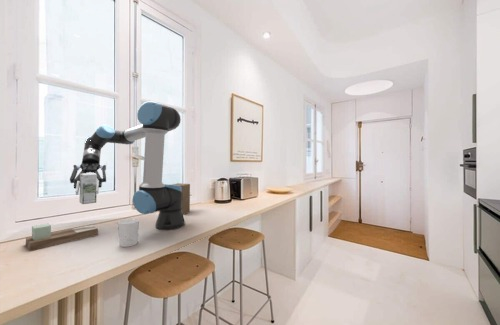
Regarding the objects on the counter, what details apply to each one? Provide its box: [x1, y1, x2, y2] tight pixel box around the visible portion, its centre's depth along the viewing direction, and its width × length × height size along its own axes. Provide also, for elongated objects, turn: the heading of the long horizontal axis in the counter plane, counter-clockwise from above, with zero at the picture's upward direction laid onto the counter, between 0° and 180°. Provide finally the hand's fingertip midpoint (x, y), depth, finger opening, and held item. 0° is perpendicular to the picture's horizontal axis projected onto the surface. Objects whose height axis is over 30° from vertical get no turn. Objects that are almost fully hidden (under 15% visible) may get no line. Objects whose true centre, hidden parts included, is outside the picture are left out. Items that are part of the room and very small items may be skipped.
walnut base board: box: [25, 224, 99, 252], centre depth 95 cm, size 10×23×3 cm, turn 143°
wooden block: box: [171, 183, 191, 216], centre depth 145 cm, size 10×10×20 cm
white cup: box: [117, 218, 140, 248], centre depth 91 cm, size 8×8×10 cm
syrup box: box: [79, 172, 98, 205], centre depth 103 cm, size 6×6×14 cm
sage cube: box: [31, 223, 52, 241], centre depth 89 cm, size 5×5×5 cm
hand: (87, 192), depth 100 cm, fingers closed on syrup box, 7 cm apart
